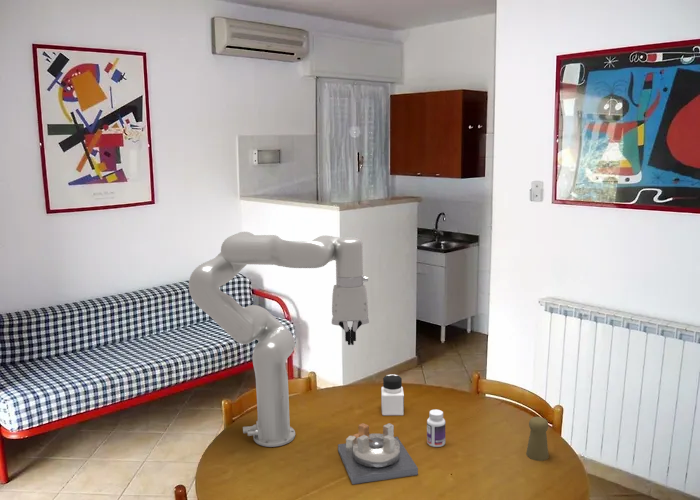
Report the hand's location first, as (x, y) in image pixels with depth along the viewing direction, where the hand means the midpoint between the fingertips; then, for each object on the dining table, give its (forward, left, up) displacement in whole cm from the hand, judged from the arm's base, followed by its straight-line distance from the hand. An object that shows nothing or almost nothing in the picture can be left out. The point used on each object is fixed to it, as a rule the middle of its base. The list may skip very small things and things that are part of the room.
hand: (350, 343), depth 173 cm
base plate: (+4, -12, -31) cm, 34 cm away
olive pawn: (+49, -20, -31) cm, 61 cm away
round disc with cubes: (+3, -11, -29) cm, 31 cm away
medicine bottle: (+18, +18, -31) cm, 40 cm away
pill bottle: (+24, -6, -31) cm, 40 cm away
